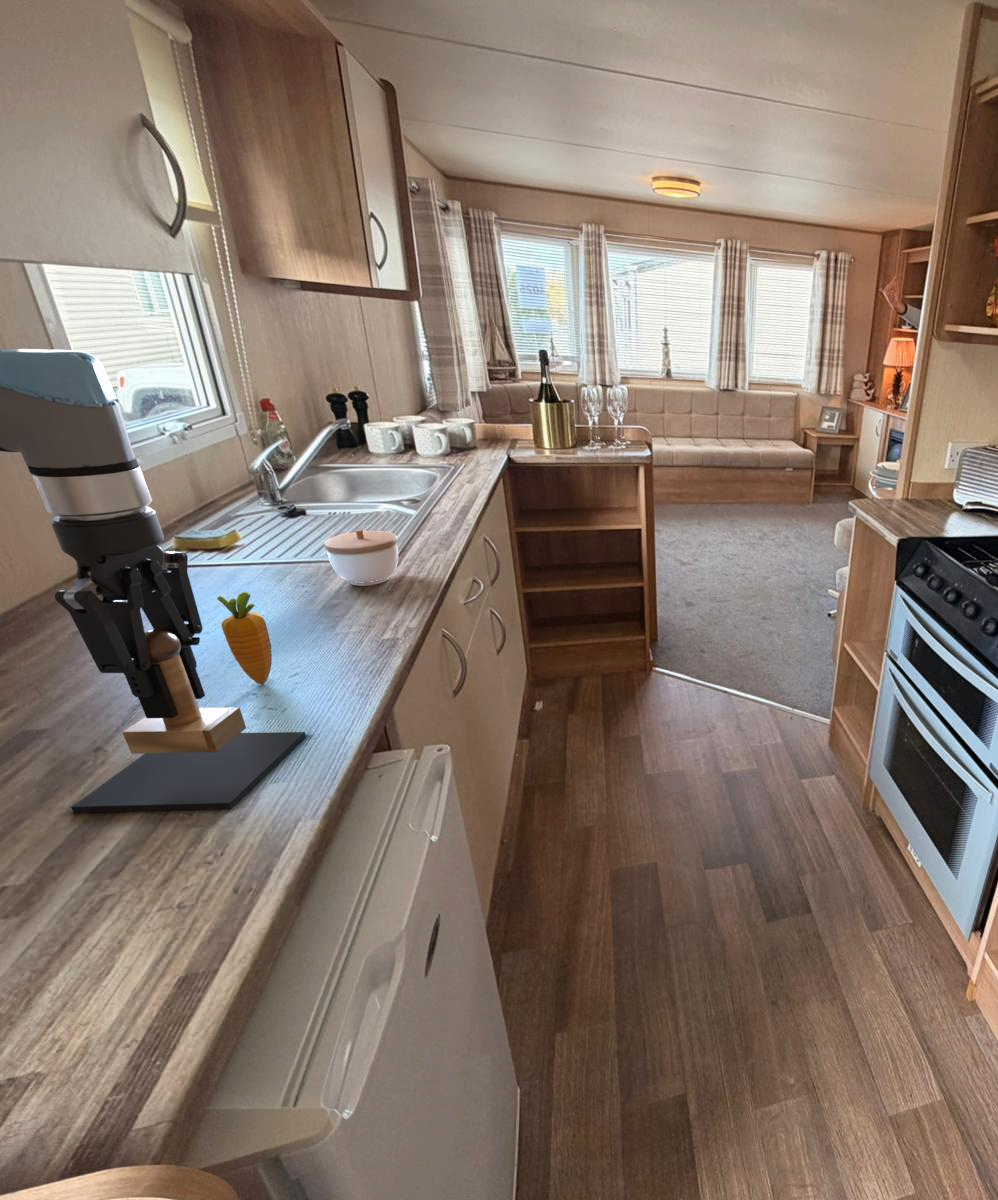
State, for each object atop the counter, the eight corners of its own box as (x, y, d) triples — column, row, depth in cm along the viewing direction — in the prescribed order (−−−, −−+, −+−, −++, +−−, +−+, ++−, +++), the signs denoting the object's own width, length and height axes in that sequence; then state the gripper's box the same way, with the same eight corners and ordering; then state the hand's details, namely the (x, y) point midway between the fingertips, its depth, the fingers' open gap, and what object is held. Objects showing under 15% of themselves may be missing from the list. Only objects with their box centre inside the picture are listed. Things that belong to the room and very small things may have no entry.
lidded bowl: (329, 576, 136) (317, 527, 132) (396, 566, 144) (387, 519, 140) (339, 595, 127) (326, 542, 123) (410, 582, 135) (400, 533, 131)
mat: (73, 812, 70) (70, 807, 70) (174, 738, 83) (172, 733, 83) (231, 808, 72) (229, 803, 72) (306, 736, 85) (304, 731, 85)
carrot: (232, 688, 95) (201, 596, 89) (267, 673, 99) (239, 584, 93) (257, 695, 93) (227, 601, 88) (291, 679, 98) (264, 589, 92)
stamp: (246, 728, 79) (211, 622, 73) (217, 752, 74) (177, 641, 69) (166, 729, 78) (124, 621, 72) (131, 754, 73) (83, 641, 68)
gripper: (131, 491, 72) (195, 672, 81) (-27, 533, 57) (74, 749, 66) (203, 493, 73) (259, 671, 82) (67, 535, 58) (154, 748, 67)
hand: (176, 706), depth 74 cm, fingers closed on stamp, 3 cm apart
